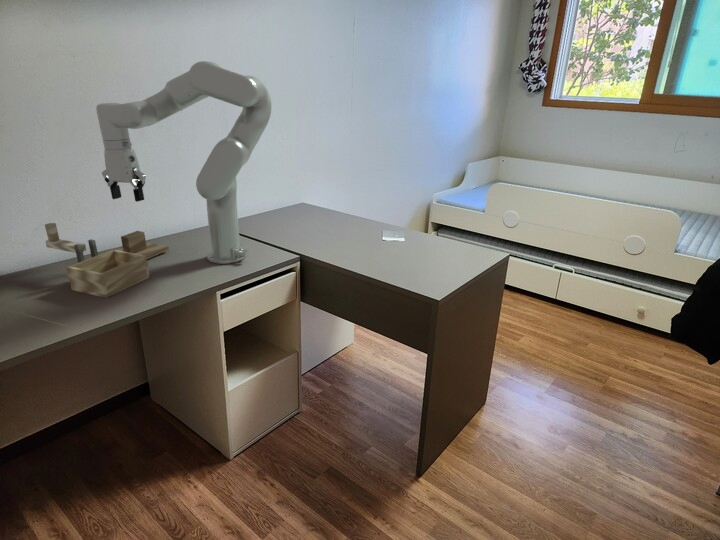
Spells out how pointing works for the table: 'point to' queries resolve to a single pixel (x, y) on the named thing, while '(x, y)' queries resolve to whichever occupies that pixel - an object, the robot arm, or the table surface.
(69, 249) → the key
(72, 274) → the light wooden box
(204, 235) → the table surface
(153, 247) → the lid
